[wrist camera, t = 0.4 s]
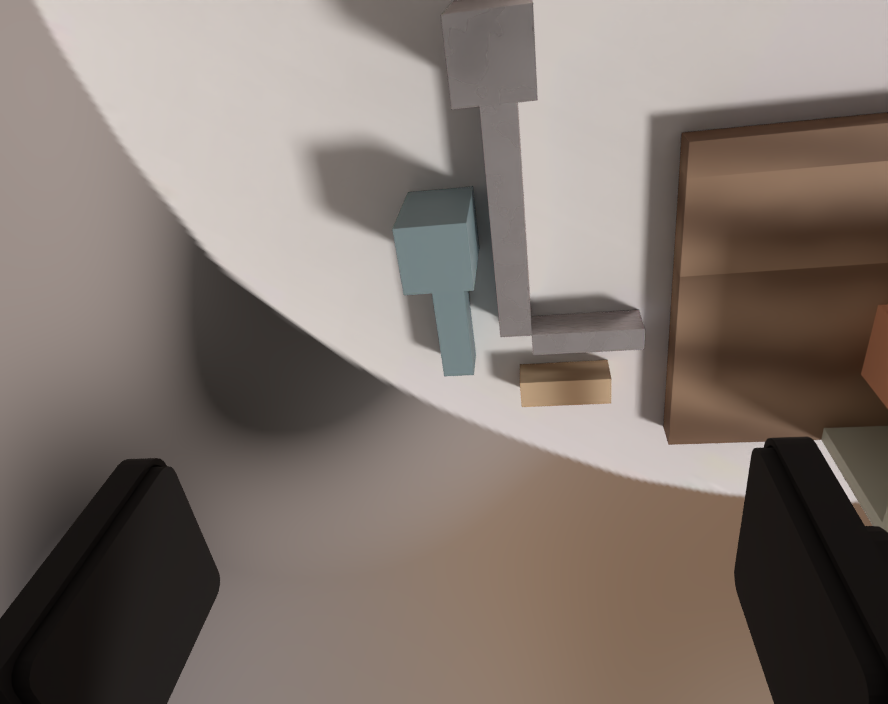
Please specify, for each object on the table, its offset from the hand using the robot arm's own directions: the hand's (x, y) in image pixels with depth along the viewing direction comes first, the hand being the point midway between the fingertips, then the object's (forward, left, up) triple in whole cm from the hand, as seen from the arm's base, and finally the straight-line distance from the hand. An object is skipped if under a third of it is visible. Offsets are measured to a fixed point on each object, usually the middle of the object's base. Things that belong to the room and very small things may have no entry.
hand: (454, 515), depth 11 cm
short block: (+19, +3, -32) cm, 37 cm away
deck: (+13, +22, -32) cm, 41 cm away
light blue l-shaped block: (+11, -4, -31) cm, 34 cm away
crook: (+5, +3, -32) cm, 32 cm away
